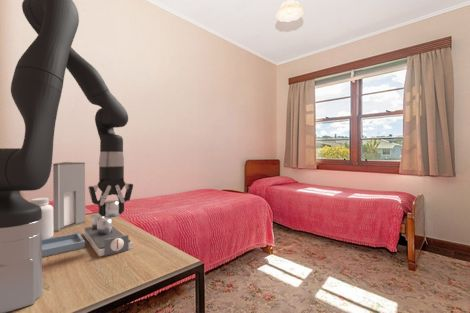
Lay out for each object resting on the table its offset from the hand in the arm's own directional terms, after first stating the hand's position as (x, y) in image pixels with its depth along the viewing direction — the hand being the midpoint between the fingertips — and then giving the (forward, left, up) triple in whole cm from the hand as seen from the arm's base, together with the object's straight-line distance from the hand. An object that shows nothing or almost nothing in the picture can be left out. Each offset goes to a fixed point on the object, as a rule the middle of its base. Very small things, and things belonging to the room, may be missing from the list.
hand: (111, 214), depth 82 cm
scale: (+8, 0, -11) cm, 14 cm away
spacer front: (0, 0, 0) cm, 0 cm away
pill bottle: (+27, +18, -11) cm, 35 cm away
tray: (+11, +13, -11) cm, 21 cm away
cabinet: (+41, +6, -11) cm, 43 cm away
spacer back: (+18, 0, -9) cm, 20 cm away
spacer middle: (+9, 0, -9) cm, 13 cm away
